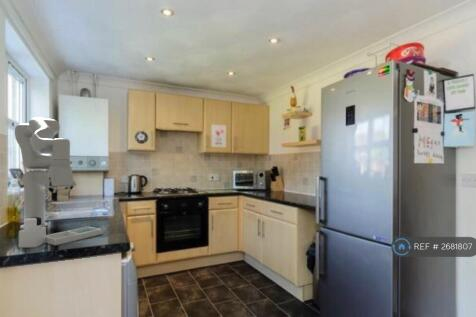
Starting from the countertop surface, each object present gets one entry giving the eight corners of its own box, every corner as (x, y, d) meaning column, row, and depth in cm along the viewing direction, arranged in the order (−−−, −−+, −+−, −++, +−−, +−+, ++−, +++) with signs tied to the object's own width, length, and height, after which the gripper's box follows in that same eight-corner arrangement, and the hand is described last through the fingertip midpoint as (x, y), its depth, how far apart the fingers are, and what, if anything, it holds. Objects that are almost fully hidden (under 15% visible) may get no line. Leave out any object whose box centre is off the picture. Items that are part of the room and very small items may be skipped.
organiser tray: (41, 241, 127) (41, 236, 127) (87, 231, 147) (87, 226, 147) (55, 245, 122) (55, 239, 122) (102, 234, 141) (102, 229, 141)
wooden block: (52, 201, 137) (52, 189, 137) (63, 200, 141) (63, 188, 141) (58, 202, 134) (58, 189, 135) (68, 200, 139) (68, 188, 139)
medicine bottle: (29, 243, 125) (29, 216, 125) (46, 242, 125) (46, 216, 126) (18, 247, 118) (18, 219, 118) (35, 247, 118) (36, 219, 118)
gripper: (73, 163, 148) (73, 198, 147) (37, 163, 133) (37, 201, 132) (82, 163, 144) (82, 198, 143) (46, 163, 129) (45, 202, 129)
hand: (60, 199), depth 138 cm, fingers closed on wooden block, 5 cm apart
